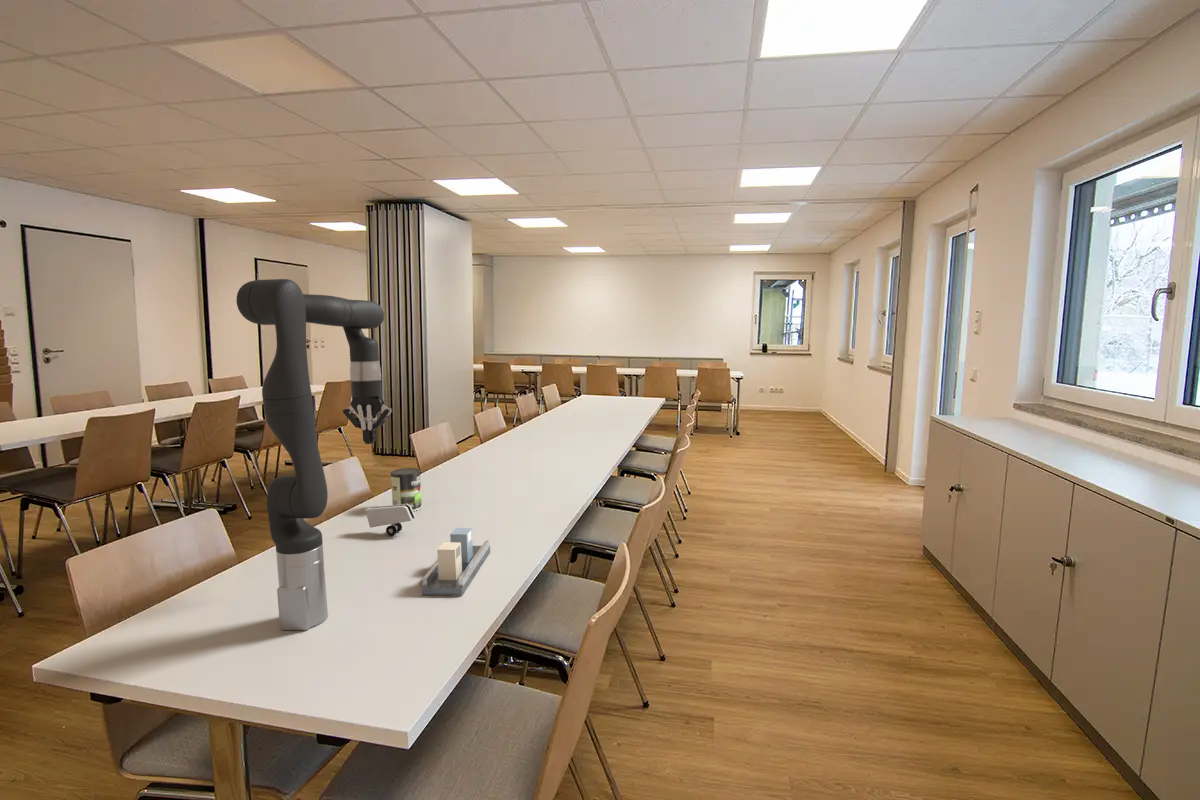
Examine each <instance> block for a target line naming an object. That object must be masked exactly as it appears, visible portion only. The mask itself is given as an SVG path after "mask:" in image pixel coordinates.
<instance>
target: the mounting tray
mask: <svg viewBox="0 0 1200 800" xmlns="http://www.w3.org/2000/svg"><path fill="white" fill-rule="evenodd" d="M490 554H491V545H490V540H487V539H486V540H484V542H483V543H482V545H473V556H472V558H471V559H470V561H469V562H468V563H462V573H461V574H460V576H459V577H458V579H457V580H439V575H438V560H437V561H436V562H435V563H434V564H433V565H432V567H431V568H429V570H428V571H427V572H426V573H425V575H424V576H423V577H422V587H421V596H428V597H430V596H434V597H436V596H437V597H463V596H464V594H465V592H466V591H467V590H468V588H469V586H470V584H471V583H472V581H473V580H474V578H476V575H477V574H478V572H479V570H480V569H481V568H482V566H483V564H484V563H485V561H486V560H487V558H488V557H489V555H490ZM480 567H481V568H480Z"/></svg>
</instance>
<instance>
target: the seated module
mask: <svg viewBox="0 0 1200 800" xmlns="http://www.w3.org/2000/svg"><path fill="white" fill-rule="evenodd" d="M436 550H437V561H438V575H439V580H457V579H458V577H459V576H460V574H461V573H462V558H461V542H451V541H450V542H449V541H447V542H446V541H444V542H442V544H440V546H439V547H438V548H437V549H436Z"/></svg>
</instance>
